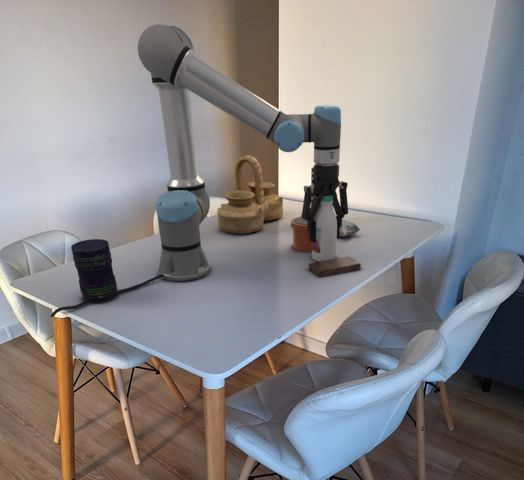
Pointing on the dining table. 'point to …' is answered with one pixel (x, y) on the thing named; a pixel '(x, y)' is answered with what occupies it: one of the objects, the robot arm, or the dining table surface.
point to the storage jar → (95, 270)
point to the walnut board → (334, 266)
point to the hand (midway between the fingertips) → (324, 239)
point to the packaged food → (348, 228)
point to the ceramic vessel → (249, 202)
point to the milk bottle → (325, 231)
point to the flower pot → (301, 235)
